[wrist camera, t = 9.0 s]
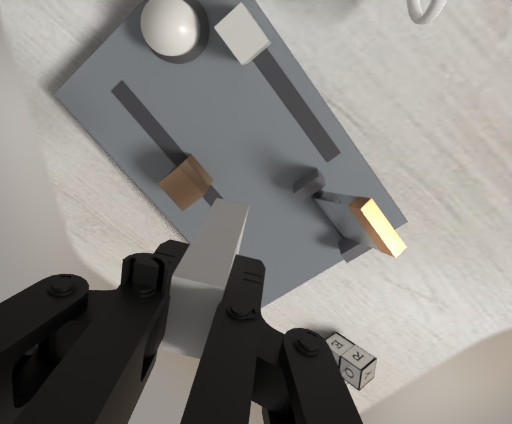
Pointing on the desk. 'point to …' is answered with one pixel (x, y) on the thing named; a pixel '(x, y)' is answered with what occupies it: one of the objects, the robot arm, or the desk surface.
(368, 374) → the building blocks
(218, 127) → the panel
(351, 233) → the lever
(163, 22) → the button
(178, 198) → the slider
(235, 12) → the slider
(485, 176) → the desk surface
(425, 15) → the mug
